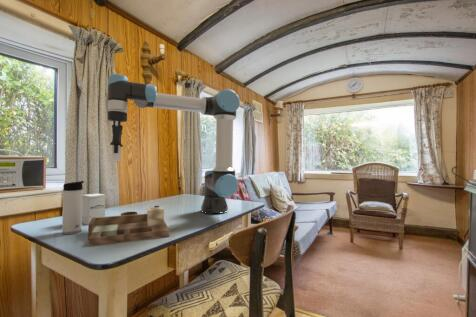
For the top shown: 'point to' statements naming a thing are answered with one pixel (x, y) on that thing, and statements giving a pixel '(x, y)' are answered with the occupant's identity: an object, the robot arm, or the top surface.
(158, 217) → the beech block
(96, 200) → the supplement box
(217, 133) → the robot arm
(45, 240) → the top surface
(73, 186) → the travel mug
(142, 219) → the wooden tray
